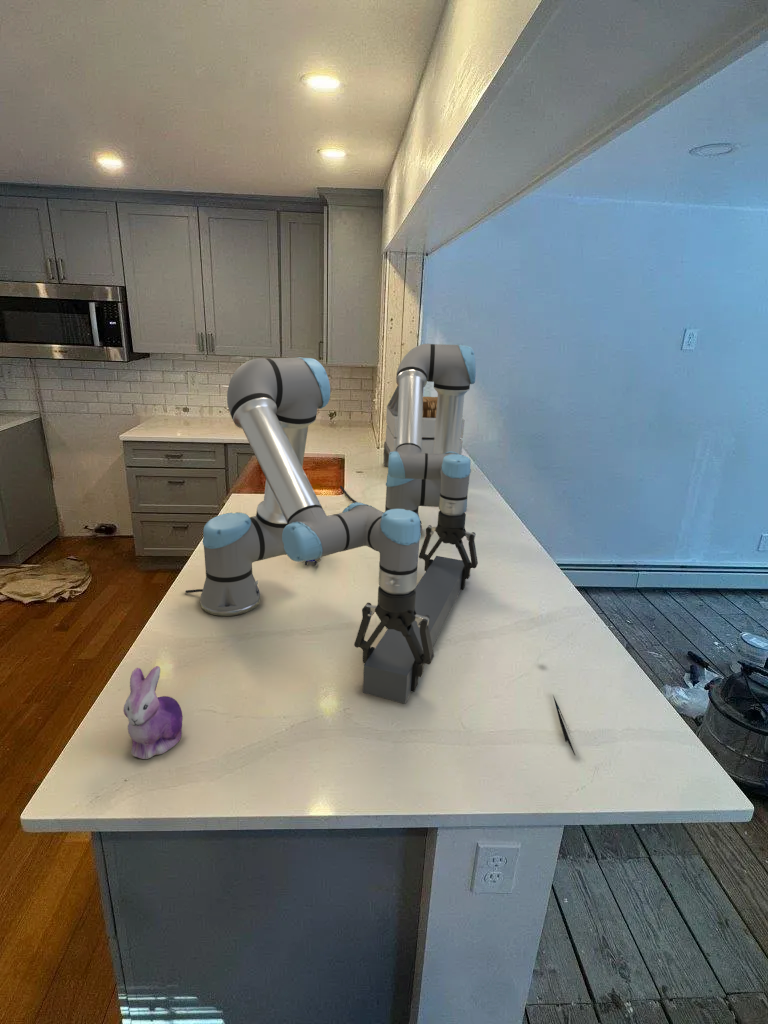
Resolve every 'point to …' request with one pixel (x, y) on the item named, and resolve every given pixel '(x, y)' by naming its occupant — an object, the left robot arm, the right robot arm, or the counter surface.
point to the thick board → (392, 654)
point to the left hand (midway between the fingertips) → (391, 681)
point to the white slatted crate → (427, 426)
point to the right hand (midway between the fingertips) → (445, 584)
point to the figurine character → (312, 561)
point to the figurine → (151, 716)
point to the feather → (563, 726)
